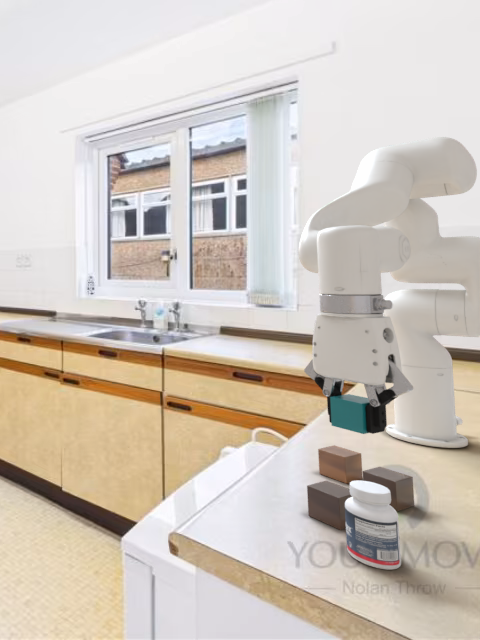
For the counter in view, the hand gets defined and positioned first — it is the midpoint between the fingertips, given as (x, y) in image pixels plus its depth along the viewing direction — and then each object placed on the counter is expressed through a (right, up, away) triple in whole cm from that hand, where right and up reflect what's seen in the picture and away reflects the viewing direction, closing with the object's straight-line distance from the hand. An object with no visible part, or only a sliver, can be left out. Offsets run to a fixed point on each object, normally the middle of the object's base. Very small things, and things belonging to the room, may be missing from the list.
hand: (356, 425), depth 73 cm
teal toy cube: (0, 0, 0) cm, 0 cm away
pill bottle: (-8, -13, -12) cm, 19 cm away
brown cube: (-6, -13, -3) cm, 14 cm away
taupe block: (+6, -13, +2) cm, 14 cm away
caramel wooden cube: (+7, -13, +11) cm, 18 cm away
